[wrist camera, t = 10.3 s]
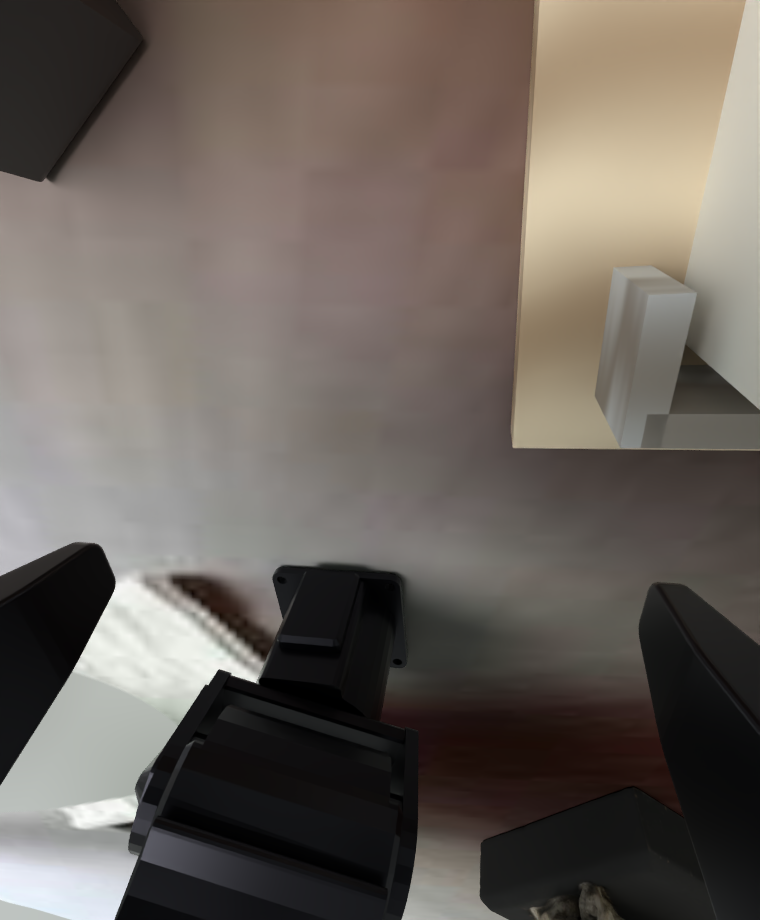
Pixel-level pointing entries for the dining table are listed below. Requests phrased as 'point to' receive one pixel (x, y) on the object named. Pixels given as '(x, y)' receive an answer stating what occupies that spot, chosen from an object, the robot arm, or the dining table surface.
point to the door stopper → (55, 75)
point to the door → (732, 229)
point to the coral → (597, 865)
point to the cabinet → (620, 228)
